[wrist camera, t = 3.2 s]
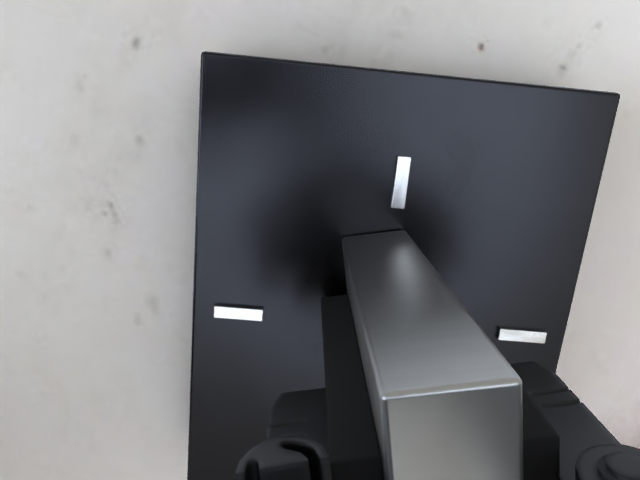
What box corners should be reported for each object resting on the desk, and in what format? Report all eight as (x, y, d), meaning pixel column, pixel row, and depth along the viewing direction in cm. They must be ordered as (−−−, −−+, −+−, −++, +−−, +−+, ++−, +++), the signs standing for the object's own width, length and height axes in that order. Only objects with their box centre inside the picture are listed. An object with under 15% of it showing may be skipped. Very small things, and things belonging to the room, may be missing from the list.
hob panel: (220, 61, 16) (198, 49, 13) (566, 96, 16) (626, 92, 13) (204, 448, 19) (184, 513, 16) (488, 468, 20) (521, 534, 16)
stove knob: (341, 236, 14) (382, 406, 6) (405, 228, 14) (533, 389, 6) (359, 410, 15) (413, 735, 7) (418, 403, 15) (535, 723, 7)
